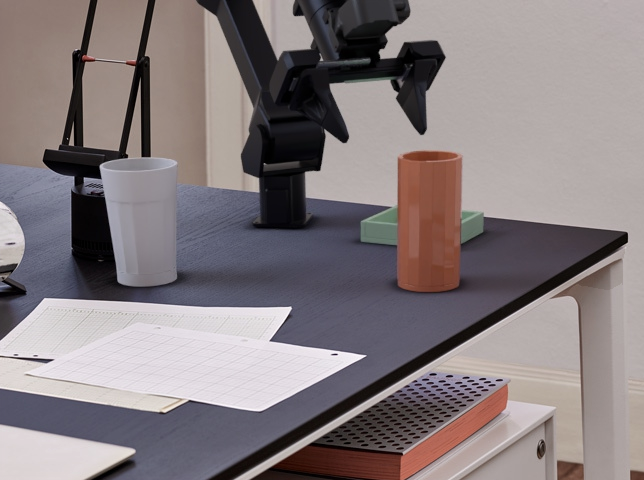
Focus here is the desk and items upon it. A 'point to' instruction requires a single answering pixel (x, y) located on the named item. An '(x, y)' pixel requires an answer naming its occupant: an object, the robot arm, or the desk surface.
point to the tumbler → (429, 220)
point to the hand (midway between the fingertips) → (385, 136)
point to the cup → (142, 218)
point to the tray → (385, 226)
